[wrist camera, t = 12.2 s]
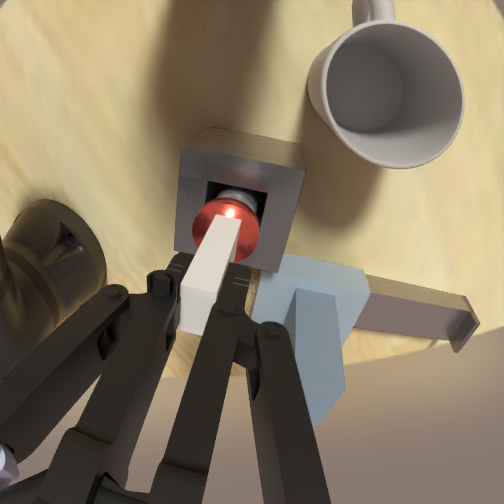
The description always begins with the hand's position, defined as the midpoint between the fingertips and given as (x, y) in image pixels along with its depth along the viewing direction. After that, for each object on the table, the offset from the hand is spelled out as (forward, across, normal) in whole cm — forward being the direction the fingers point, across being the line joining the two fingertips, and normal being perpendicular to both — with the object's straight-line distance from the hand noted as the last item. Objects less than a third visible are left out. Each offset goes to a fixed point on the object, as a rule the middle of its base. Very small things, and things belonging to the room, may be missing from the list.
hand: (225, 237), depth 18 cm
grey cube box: (+11, 0, 0) cm, 11 cm away
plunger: (+9, 0, 0) cm, 9 cm away
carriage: (+10, +8, -10) cm, 16 cm away
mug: (+12, +7, +12) cm, 18 cm away
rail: (+11, +16, -10) cm, 22 cm away
